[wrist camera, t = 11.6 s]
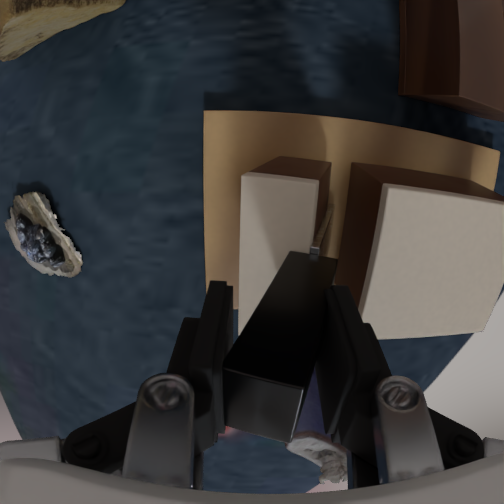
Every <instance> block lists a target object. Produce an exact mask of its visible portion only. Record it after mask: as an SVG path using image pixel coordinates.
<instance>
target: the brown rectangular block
mask: <svg viewBox="0 0 504 504" xmlns="http://www.w3.org/2000/svg"><path fill="white" fill-rule="evenodd" d="M331 167H332V162H327V161H320V160H312V159H304V158H295V157H286V156H279V157H276V158H274V159H272V160H270V161H269V162H267V163H265V164H263V165H261V166H259V167H257V168H255V169H253V170H251V171H249V172H247V173H245V174H243V175H242V176H241V208H240V254H239V313H238V335H240V333H241V332H242V330H243V328H244V327H245V325H246V324H247V322H248V320H249V319H250V317H251V315H252V314H253V312H254V310H255V309H256V307H257V305H258V304H259V302H260V300H261V299H262V297H263V295H264V294H265V292H266V290H267V289H268V287H269V285H270V284H271V282H272V280H273V279H274V277H275V275H276V273H277V272H278V270H279V268H280V267H281V265H282V263H283V262H284V260H285V258H286V256H287V255H288V253H289V251H296V252H302V253H307V254H309V251H310V246H311V244H312V241H313V239H314V237H315V235H316V232H317V230H318V228H319V226H320V223H321V221H322V219H323V216H324V214H325V212H326V209H327V205H328V196H329V187H330V177H331Z"/></svg>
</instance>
